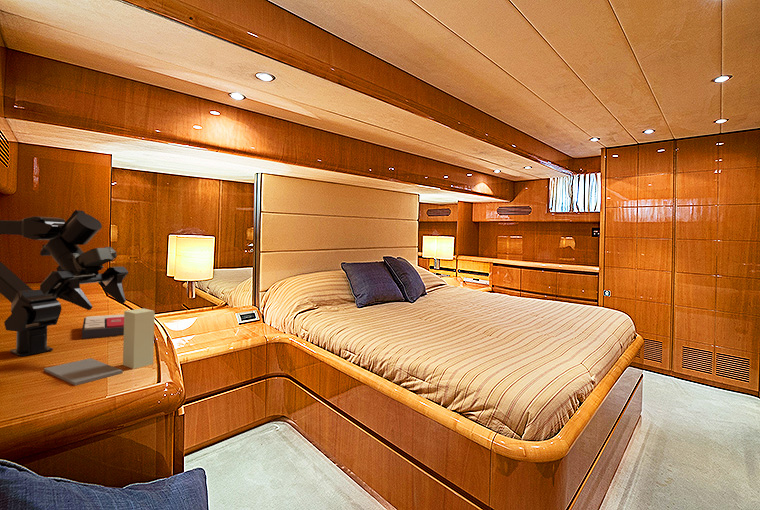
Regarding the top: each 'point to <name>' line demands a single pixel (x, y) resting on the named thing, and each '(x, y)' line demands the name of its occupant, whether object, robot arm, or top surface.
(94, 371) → the mat
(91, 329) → the black red white box
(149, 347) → the block
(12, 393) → the top surface
